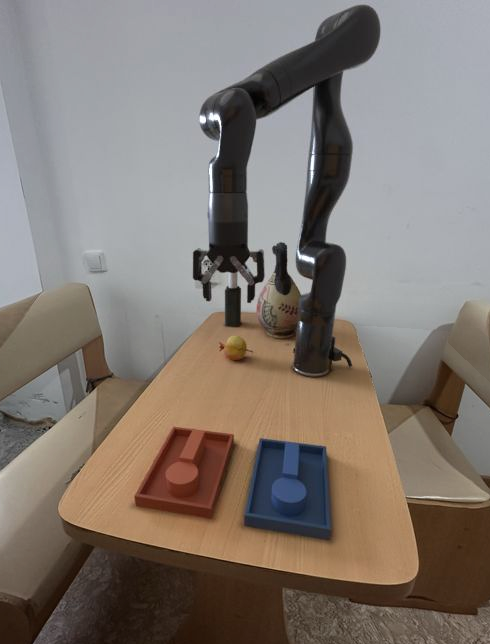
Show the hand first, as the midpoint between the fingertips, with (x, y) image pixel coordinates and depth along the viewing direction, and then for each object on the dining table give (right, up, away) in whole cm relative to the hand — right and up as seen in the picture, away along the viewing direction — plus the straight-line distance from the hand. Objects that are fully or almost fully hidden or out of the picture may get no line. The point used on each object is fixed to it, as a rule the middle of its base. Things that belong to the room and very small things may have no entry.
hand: (228, 301), depth 77 cm
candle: (+2, -1, +55) cm, 55 cm away
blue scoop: (+10, -32, -14) cm, 37 cm away
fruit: (+2, -13, +30) cm, 32 cm away
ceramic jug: (+17, -5, +46) cm, 49 cm away
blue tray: (+10, -33, -15) cm, 37 cm away
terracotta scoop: (-7, -30, -11) cm, 33 cm away
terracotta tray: (-7, -31, -12) cm, 34 cm away
